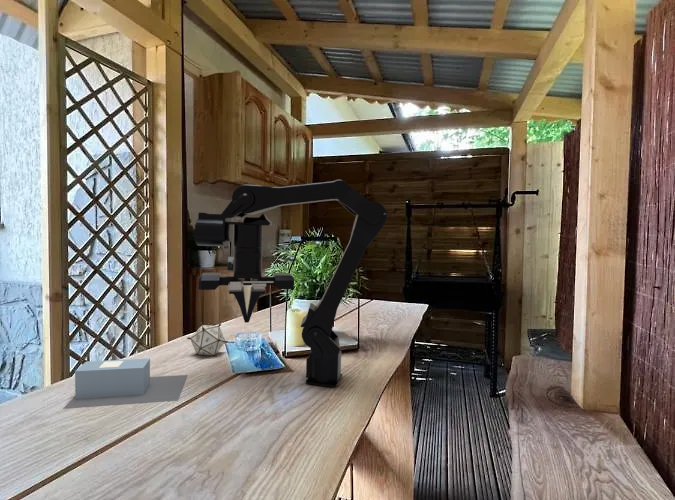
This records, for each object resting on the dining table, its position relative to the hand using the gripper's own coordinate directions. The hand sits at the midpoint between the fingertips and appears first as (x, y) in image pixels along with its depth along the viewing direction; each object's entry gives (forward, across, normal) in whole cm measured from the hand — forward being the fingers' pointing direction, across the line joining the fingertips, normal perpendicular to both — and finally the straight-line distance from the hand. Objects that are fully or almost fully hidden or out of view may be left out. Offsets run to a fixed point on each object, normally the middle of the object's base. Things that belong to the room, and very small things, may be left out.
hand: (246, 322), depth 80 cm
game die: (+12, +9, -16) cm, 22 cm away
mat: (+12, +21, +4) cm, 24 cm away
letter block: (+9, +18, +4) cm, 21 cm away
